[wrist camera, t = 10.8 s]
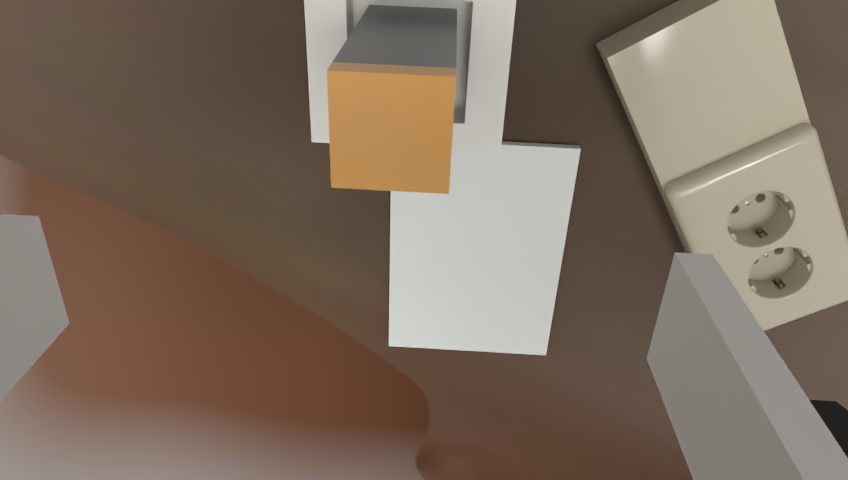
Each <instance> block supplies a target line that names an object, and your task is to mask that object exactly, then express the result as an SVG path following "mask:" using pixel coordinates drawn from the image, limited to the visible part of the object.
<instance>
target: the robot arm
mask: <svg viewBox="0 0 848 480" xmlns="http://www.w3.org/2000/svg"><path fill="white" fill-rule="evenodd" d="M68 324H69V320H68V317H67V313H66V310H65V306H64V303H63V299H62V296H61V292H60V289H59V286H58V282H57V278H56V275H55V271H54V268H53V264H52V261H51V257H50V254H49V250H48V247H47V243H46V240H45V237H44V233H43V230H42V226H41V223H40V219H39V217H38V216H26V215H9V214H2V215H1V216H0V402H1V401H2V400H3V398H4V397H5V396H6V395H7V394H8V393H9V392H10V390H11V389H12V388H13V387H14V386H15V385H16V384H17V382H18V381H19V380H20V379H21V378H22V377H23V376H24V374H25V373H26V372H27V371H28V370H29V369H30V368H31V366H32V365H33V364H34V363H35V362H36V361H37V360H38V358H39V357H40V356H41V355H42V354H43V353H44V352H45V350H46V349H47V348H48V347H49V346H50V345H51V344H52V343H53V341H54V340H55V339H56V338H57V337H58V336H59V334H60V333H61V332H62V331H63V330H64V329H65V328H66V326H67V325H68ZM647 360H648V363H649V366H650V368H651V371H652V373H653V376H654V379H655V381H656V384H657V386H658V389H659V392H660V394H661V397H662V399H663V402H664V405H665V407H666V410H667V412H668V415H669V418H670V420H671V423H672V426H673V428H674V431H675V433H676V436H677V439H678V441H679V444H680V446H681V449H682V452H683V454H684V457H685V459H686V462H687V465H688V467H689V470H690V472H691V475H692V478H693V480H848V411H847V410H846V409H845V408H844V407H842V406H841V405H840V404H839V403H837V402H835V401H819V400H809V399H808V397H807V396H806V394H805V393H804V391H803V390H802V388H801V387H800V385H799V384H798V382H797V381H796V379H795V378H794V376H793V375H792V373H791V372H790V370H789V369H788V367H787V366H786V364H785V363H784V361H783V360H782V358H781V357H780V355H779V354H778V352H777V351H776V349H775V348H774V346H773V345H772V343H771V342H770V340H769V339H768V337H767V336H766V334H765V333H764V331H763V329H762V328H761V326H760V325H759V323H758V322H757V320H756V319H755V317H754V316H753V314H752V313H751V311H750V310H749V308H748V307H747V305H746V304H745V302H744V301H743V299H742V298H741V296H740V295H739V293H738V292H737V290H736V289H735V287H734V286H733V284H732V283H731V281H730V280H729V278H728V277H727V275H726V274H725V272H724V271H723V269H722V268H721V266H720V265H719V263H718V262H717V260H716V259H715V257H714V256H713V255H711V254H693V253H676V252H675V253H674V257H673V261H672V265H671V269H670V272H669V276H668V280H667V284H666V287H665V291H664V295H663V299H662V303H661V306H660V310H659V314H658V318H657V322H656V325H655V329H654V333H653V337H652V340H651V344H650V348H649V352H648V356H647Z"/></svg>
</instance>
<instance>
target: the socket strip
mask: <svg viewBox="0 0 848 480" xmlns="http://www.w3.org/2000/svg"><path fill="white" fill-rule="evenodd" d="M369 5H387V6H408V7H430V8H451V9H457V56H456V88H455V104H454V120H453V136H452V149H453V150H472V151H491V152H501V145H502V135H503V125H504V116H505V106H506V96H507V86H508V77H509V67H510V57H511V48H512V38H513V28H514V18H515V9H516V0H304V8H305V26H306V45H307V64H308V83H309V102H310V121H311V140H312V142H319V143H330V141H329V114H328V88H327V69H328V68H329V66H330V65H331V63H332V62H333V60H334V59H335V57H336V56H337V54H338V52H339V51H340V49H341V48H342V46H343V45H344V43H345V42H346V40H347V39H348V37H349V35H350V34H351V32H352V31H353V29H354V28H355V26H356V25H357V23H358V22H359V20H360V18H361V17H362V15H363V14H364V12H365V11H366V9H367V8H368V6H369Z"/></svg>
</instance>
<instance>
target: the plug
mask: <svg viewBox="0 0 848 480" xmlns="http://www.w3.org/2000/svg"><path fill="white" fill-rule="evenodd" d="M456 56H457V9H451V8H430V7H408V6H387V5H369V6H368V8H367V9H366V11H365V12H364V14H363V15H362V17H361V18H360V20H359V22H358V23H357V25H356V26H355V28H354V29H353V31H352V32H351V34H350V35H349V37H348V39H347V40H346V42H345V43H344V45H343V46H342V48H341V49H340V51H339V52H338V54H337V56H336V57H335V59H334V60H333V62H332V63H331V65H330V66H329V68H328V69H327V88H328V114H329V141H330V167H331V188H347V189H365V190H384V191H402V192H421V193H439V194H449V185H450V169H451V152H452V136H453V120H454V104H455V88H456Z"/></svg>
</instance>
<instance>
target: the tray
mask: <svg viewBox="0 0 848 480" xmlns="http://www.w3.org/2000/svg"><path fill="white" fill-rule="evenodd" d="M580 151H581V148H580V146H579V145H564V144H545V143H525V142H506V141H502V145H501V152H491V151H472V150H453V149H452V152H451V169H450V185H449V194H439V193H421V192H402V191H391V203H390V284H389V346H397V347H414V348H430V349H447V350H464V351H481V352H498V353H515V354H532V355H546V352H547V346H548V340H549V334H550V328H551V323H552V317H553V311H554V305H555V299H556V293H557V287H558V281H559V275H560V269H561V263H562V257H563V252H564V246H565V240H566V234H567V228H568V222H569V216H570V210H571V204H572V198H573V192H574V186H575V180H576V175H577V169H578V163H579V157H580Z"/></svg>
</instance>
